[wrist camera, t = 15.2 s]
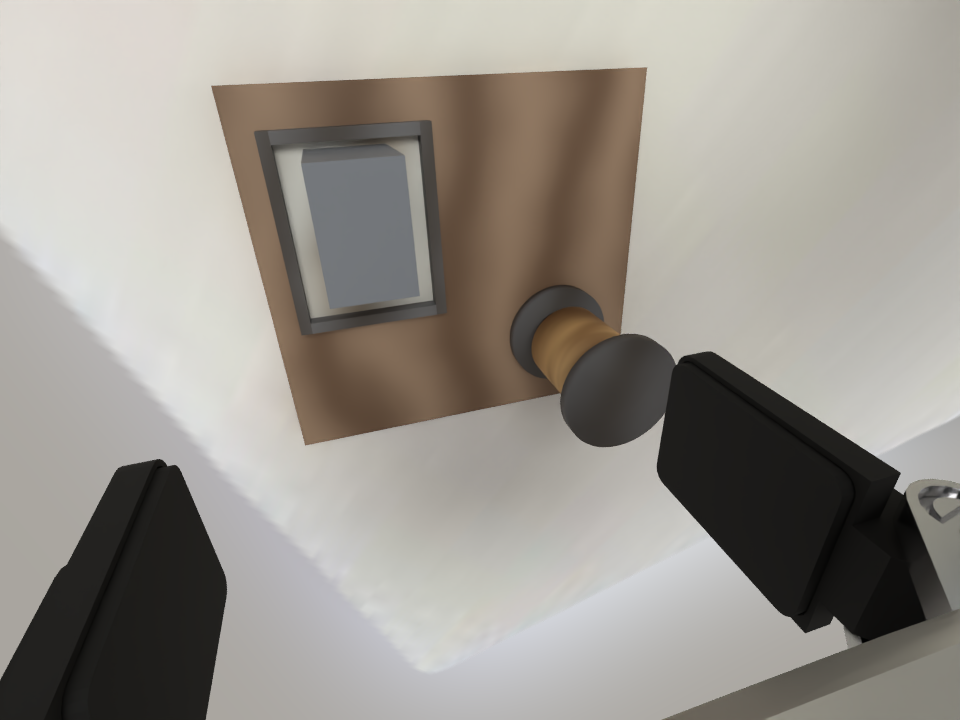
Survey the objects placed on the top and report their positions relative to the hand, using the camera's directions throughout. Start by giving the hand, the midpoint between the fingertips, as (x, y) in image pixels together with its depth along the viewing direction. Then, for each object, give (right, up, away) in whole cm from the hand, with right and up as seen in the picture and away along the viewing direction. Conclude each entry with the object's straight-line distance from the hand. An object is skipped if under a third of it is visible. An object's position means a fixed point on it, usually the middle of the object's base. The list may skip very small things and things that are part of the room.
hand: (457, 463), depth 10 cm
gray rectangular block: (-6, +10, +17) cm, 20 cm away
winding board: (-1, +8, +21) cm, 23 cm away
